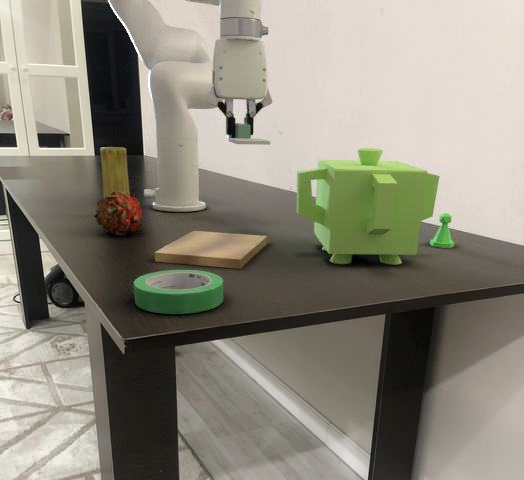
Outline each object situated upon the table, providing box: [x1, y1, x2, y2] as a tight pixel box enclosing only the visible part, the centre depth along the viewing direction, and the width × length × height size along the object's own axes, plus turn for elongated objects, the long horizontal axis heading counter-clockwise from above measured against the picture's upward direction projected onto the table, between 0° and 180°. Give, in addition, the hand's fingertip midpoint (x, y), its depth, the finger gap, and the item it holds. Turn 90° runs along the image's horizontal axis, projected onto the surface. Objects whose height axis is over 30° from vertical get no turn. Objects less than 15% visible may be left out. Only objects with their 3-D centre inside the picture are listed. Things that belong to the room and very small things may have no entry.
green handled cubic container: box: [296, 147, 440, 265], centre depth 92 cm, size 25×23×17 cm
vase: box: [99, 146, 131, 199], centre depth 120 cm, size 6×6×14 cm
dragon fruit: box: [94, 191, 143, 236], centre depth 107 cm, size 8×8×12 cm
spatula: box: [226, 122, 271, 146], centre depth 108 cm, size 19×6×3 cm, turn 14°
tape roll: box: [133, 269, 224, 315], centre depth 71 cm, size 11×11×3 cm
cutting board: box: [154, 230, 268, 270], centre depth 95 cm, size 14×18×2 cm
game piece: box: [429, 212, 455, 249], centre depth 103 cm, size 4×4×6 cm
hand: (239, 138), depth 111 cm, fingers closed on spatula, 2 cm apart
